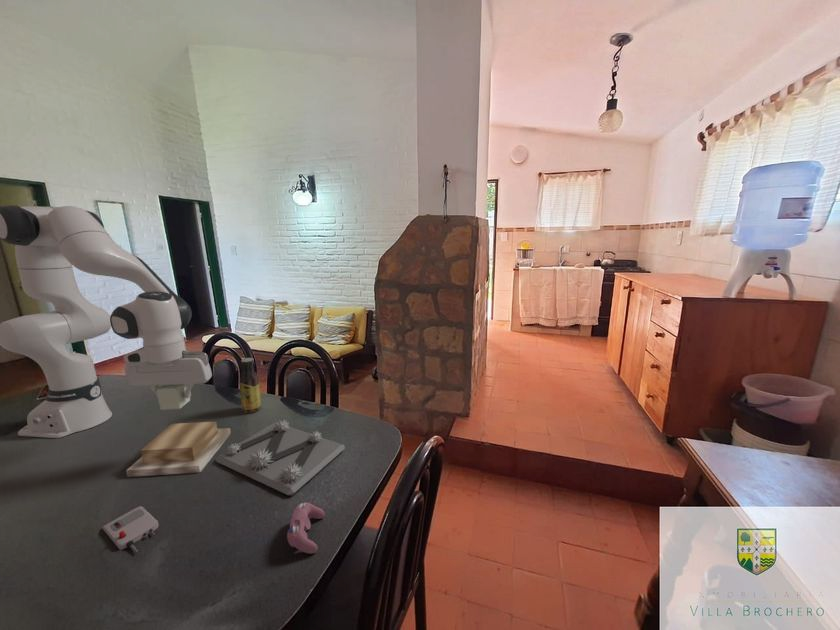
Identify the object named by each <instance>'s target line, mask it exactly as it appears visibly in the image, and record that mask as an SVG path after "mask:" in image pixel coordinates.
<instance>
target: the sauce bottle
mask: <svg viewBox="0 0 840 630" xmlns="http://www.w3.org/2000/svg"><path fill="white" fill-rule="evenodd" d="M254 364H255V359H254V358H253V357H245V358H242V359H241V360H240V365H241V370H242V371H241V375H240V378H239V381H238V382H239V391H240V392H239V394H240V402H241V403H240V404H241V408H242V412H243V413H245V414H252V412H253V413H256V412H258V411H259V410H261V408H262V406H261V405H262V401H261V390H260V381H259V375H258V373H256V371H255V365H254ZM257 410H258V411H257Z"/></svg>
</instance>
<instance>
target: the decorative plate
mask: <svg viewBox="0 0 840 630" xmlns="http://www.w3.org/2000/svg"><path fill="white" fill-rule="evenodd" d="M289 423H290V421H289V422H288V421H287V420H285V419H283V421H282V420H281V419H278V421H275V422H273V423H271V424H270V425H268V426H267V427H264V428H263V429H261V430H259V431H258V432H256V433H254V434H253V435H251V436H249V437H247V438H246V439H244V440H242V441H241V442H239V443H237V442H235V443H230V445H227V446H226V447H225V450H224V452H222V453H220V454H219V455H218V456H217V457H216V458H215V463H218V464H220V465H223V466H225V467H227V468H229V469H231V470H233V471H235V472H237V473H239V474H242V475H243V476H246V477H248V478H251V479H252V480H254V481H257V482H259V483H261V484H262V485H263V484H264V485H266V486H267V487H269V488H272V489H273V490H276V491H278V492H280V493H282V494H285V495H287V496H293V495H294V494H295V493H297V492H298V491H299V490H300V489H301V488H302V487H304V485H306V483H308V482H309V481H310V480H311V479H313V478H314V477H315V476H316V475H317V474H318V473H319V472H321V470H323V469H324V468H325V467H326V466H328V465H329V464H330V462H332V461H333V460H334V459H335V458H336V457H337V456H338V455H340V454H341V453H342V452H344V451H345V449H346V447H345V444H341V443H339V442H336V441H333V440H330V439H329V438H328V439H327V438H324V437H323V436H322V435H321V434H323V433H322V432H319V431H318V430H316V431H311V433H310V432H307V431H304V430H302V429H301V430H300V429H298V428H295V427H293V426H291V425H289Z"/></svg>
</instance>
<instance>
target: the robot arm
mask: <svg viewBox="0 0 840 630" xmlns="http://www.w3.org/2000/svg"><path fill="white" fill-rule="evenodd" d="M0 240H1V241H3V242H4V243H7V244H9V245H14V246H15V247H14V251H15V254H14V255H15V261H16V267H17V270H18V275H19V278H20V282H21V286H22V290H23V292H24V293H25V294H26V295H27V296H28V297H30V298H32V299H35V300H38V301H43V302H47V303H51V305H53V307H54V311H53V310H52V311H47V312H46V311H45V312H40V313H33V314H27V315H22V316H18V317H14V318H11V319H8V320H6V321H2V322H1V323H0V346H1V347H2V348H3V349H5V350H7V351H8V352H12V353H15V354H18V355H19V354H20V355H23V356H26V357H28V358H30V359H31V360H33V361H34V362H35V363H37V364H38V365H39V367H40V368H41V370H42V372H43V374H44V376H45V379H46V382H47V386H48V387H47V389H45V390H42V391H41V392H40V394H41V396H44V395H46V396H45V400H44V401H43V402H41V403H40V404H39V405H37V406H35V407H34V409H32V410H31V411H30V412H29V413H28V414H27V417H26V422H27V425H25V426H24V427H22V428H20V430H18V432H17V436H20V437H34V438H35V437H36V438H49V439H59V438H62V437H66V436H68V435H71V434H74V433H79V432H82V431H85V430H88V429H90V428H94V427H96V426H98V425H100V424H103V423H104V422H106V421H108V420H109V419H110V418H111V417H112V416H113V413H112V411H111V410H110V408H109V406H108V405H107V402H106V400H105V398H104V395H103V393H102V386H101V380H100V379H99V378H98V376H97V372H96V368H95V363H94V360H93V358H92V357H91V356H89V355H87V354H85V353H79V352H71V351H68V350H67V348H66V345H68V344H69V345H70V344H74V343H78V342H82V341H87V340H91V339H94V338H95V339H96V338H97V337H100V336H103V335H105V334H107V333H108V332H110V330H111V329H112V332H113V333H114V334H115V335H117V336H119V337H120V338H123V339H125V340H135V339H140V338H141V339H142V347H139V348H137V349H135V350H132V351H131V352H128V353H127V354H124V356H123V361H124V362H125V363H126V364H125V367H124V374H125V379H126V382H127V384H128V385H129V386H131V387H148V386H149V388H150V390H151V391H152V392H153V393H154V394H155V395H156V399H157V400H158V395H157V389H158V388H160V387H161V386H163V385H179V384H184V387H185V388H186V387H187V388H186V390H185V391H184V392H182V393H181V395H182V398H189V397H190V398H191V396H192V392H191V391H192V388H193V387H194V385H198V384H199V385H200V384H201V385H202V384H206V383H208V381H210V380H211V378H212V376H213V373H212V368H211V366H210V363H209V357H208V354H207V353H205V352H203V351H202V350H187V348H186V341H185V337H184V335H183V333H182V330H184V329H185V328H186V327H187V326H188V325H189V323H190V321H191V319H192V314H193V312H192V309H191V306H190V305H189V304H188V303H187V302H186V301H185V300H184V299H183V298H182V297H180V296H179V295H178V294H177V293H175V292H174V291H173V290H172V289H171V288H170V287H169V286H168V284H166V283H165V282H164V281H163V280H162V279H161V278H160V277H159V275H158V274H157V273H156V272H155V271H154V270H153V269H152V268H151V267H150V266H149V265H148V264H147V263H146V262H145V261H144V260H143V259H141V257H138V256H136V255H134V254H132V253H130V252H129V251H127V250H125V249H124V248H123V247H122V246H120V245H119V244H118V243H116V242H115V241H114V239H113V238H112V237H111V236H110V234H109V233H108V231H107V230H106V228H105V226H104V223H103V221H102V219H101V218H100V217H99V216H98V215H97V214H96V213H95V212H92V211H89V210H85V209H83V208H82V207H81V208H80V207H77V206H71V205H63V206H50V205H47V206H37V205H36V206H34V205H31V206H30V205H29V206H28V205H26V206H23V205H21V206H19V205H14V204H13V205H10V204H9V205H0ZM73 267H74V268H76V269H77V270H78V271H82V272H84V273H85V274H86V273H87V274H91V275H93V276H94V275H95V276H104V277H111V278H116V279H121V280H122V279H123V280H126V281H128V282H130V283H133V284H135V285H137V286H138V288H140V289H141V290H142V291H143V292H141V293H139V294H138V295H136V297H135V299H134V300H132V301H130V302H128V303H125V304H121V305H120V306H116V307H115V309H114V310H113V311H112V313H111V315H110V314H109V312H108V311H107V310H105V309H103V308H102V307H99V306H97V305H96V304H93V303H92V302H90V301H89V300H88V299H86V298H85V297H84V296H83V294H82V293H81V291H80V289H79V287H78V283H77V280H76V277H75V273H74V268H73Z"/></svg>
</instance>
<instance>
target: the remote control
mask: <svg viewBox="0 0 840 630" xmlns="http://www.w3.org/2000/svg"><path fill="white" fill-rule="evenodd" d="M101 528H102V530H103V531H104V533H105V534H106V535H107V536H108V537H109V538H110V540H111V541H112V542H113V543H114V545H115V546H116V547H117V548H118V550H124V549H126V548H127V549H128V548H129V549H131V550H132V551H134V552H135V553H138V552H139V550H138V549H137V547H136V546H135V544H136V543H137V542H139V541H140V540H142V539H144V538H148V535H150V534H151V535H153V536H154V535H156V534H155V532H154V531H156V530H157V529H158V528H159V521H158V520H157V519H156V518H155V517H154V516H153V515H152V514H151V513H150V512H148V510H146V508H145V507H143V506H142V505H141V506H140V505H139V506H136V507H135V508H133V509H131V510H130V511H128V512H126V513H124V514H122V515H120V516H119V517H117V518H115V519H114V520H112V521H110V522H108V523H106V524H105V525H103V526H102V527H101ZM138 540H139V541H138ZM136 541H137V542H136ZM135 542H136V543H135Z"/></svg>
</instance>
